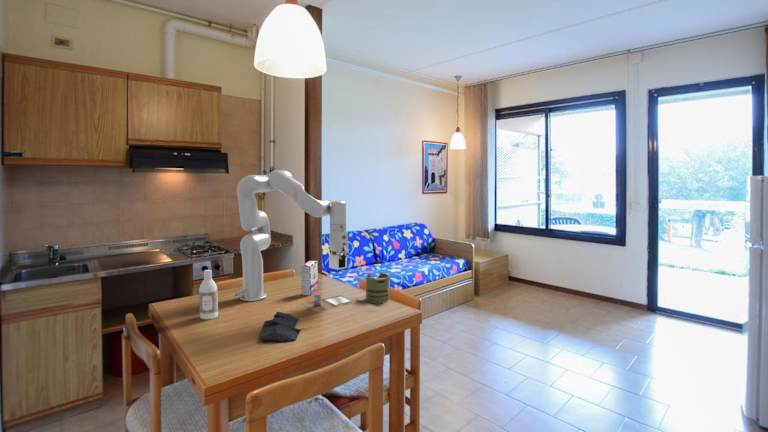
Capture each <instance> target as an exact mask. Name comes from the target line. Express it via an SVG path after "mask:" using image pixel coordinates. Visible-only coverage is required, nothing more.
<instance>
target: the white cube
mask: <svg viewBox="0 0 768 432" xmlns="http://www.w3.org/2000/svg"><path fill="white" fill-rule="evenodd" d="M341 255H343V254H341ZM339 259H340V257H339V253H337V254H330V253H329V254H328V268H330V269H334V270H344V269H348V255H347V256H346V259H345V267H342V268H339Z"/></svg>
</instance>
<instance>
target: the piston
mask: <svg viewBox="0 0 768 432" xmlns="http://www.w3.org/2000/svg"><path fill="white" fill-rule="evenodd" d="M365 288H366V289H365V301H366V300H367V302H368V303H371V302H372V303H371V304H383V302H385V303H387V302H389V301H390V289H389V288H390V274H388V273H385V272H380V273H379V276H378V277H372V276H371V274H370V273H367V274H366V275H365ZM388 300H389V301H388Z"/></svg>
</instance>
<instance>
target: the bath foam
mask: <svg viewBox="0 0 768 432" xmlns="http://www.w3.org/2000/svg"><path fill="white" fill-rule="evenodd" d="M212 275H213V274H212V269H204V270H203V280H202V282H201V283H200V285H199V289H198V295H199V296H198V297H199V298H198V301H199V318H200V319H201V320H206V321H207V320H213V319H215V318H217V317H218V316H219V305H218V303H219V300H218V296H219V295H218V286H217V285H218V284H216V282H215V281H214V280H213V276H212Z"/></svg>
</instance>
